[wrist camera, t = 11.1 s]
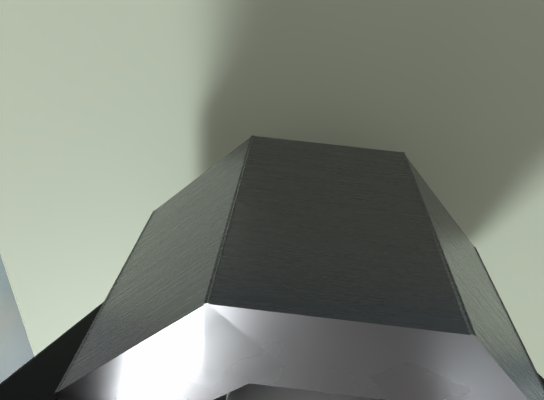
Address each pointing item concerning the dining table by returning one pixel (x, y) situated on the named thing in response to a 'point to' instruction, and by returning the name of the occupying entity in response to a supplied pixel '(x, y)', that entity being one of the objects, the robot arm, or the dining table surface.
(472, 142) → the post board
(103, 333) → the hub ring
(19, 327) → the dining table surface
